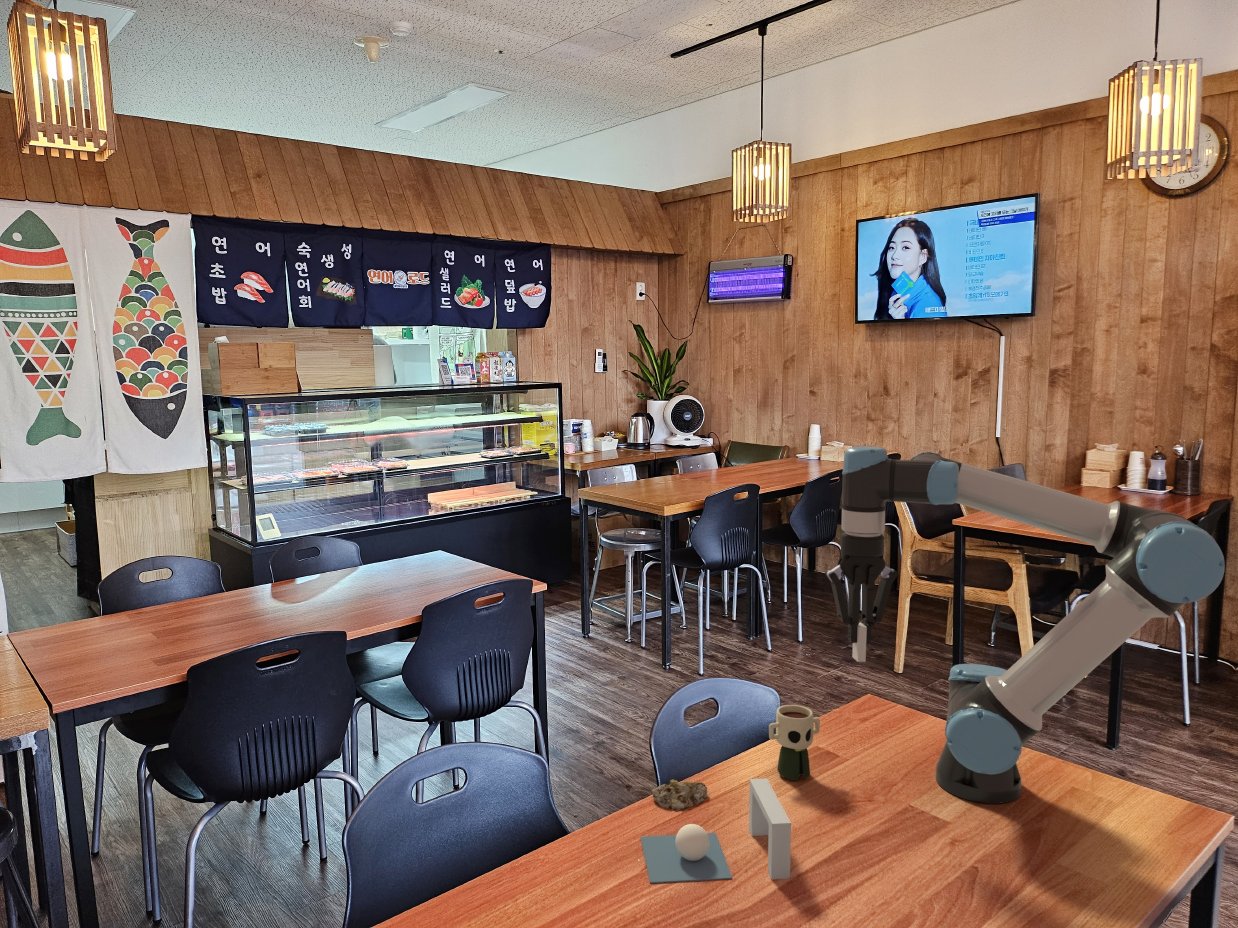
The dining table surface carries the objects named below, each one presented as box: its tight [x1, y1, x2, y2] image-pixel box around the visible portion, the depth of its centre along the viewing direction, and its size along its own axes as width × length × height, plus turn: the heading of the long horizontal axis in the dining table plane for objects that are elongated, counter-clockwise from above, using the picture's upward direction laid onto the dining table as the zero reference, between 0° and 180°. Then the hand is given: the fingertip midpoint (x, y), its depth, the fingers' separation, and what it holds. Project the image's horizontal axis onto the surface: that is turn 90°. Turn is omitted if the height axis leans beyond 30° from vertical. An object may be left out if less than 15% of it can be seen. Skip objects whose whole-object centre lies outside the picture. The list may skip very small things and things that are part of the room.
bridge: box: [748, 778, 792, 880], centre depth 140 cm, size 3×14×9 cm, turn 5°
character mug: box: [768, 704, 821, 781], centre depth 166 cm, size 11×7×13 cm, turn 107°
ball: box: [676, 823, 709, 861], centre depth 139 cm, size 6×6×6 cm
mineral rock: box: [651, 779, 708, 811], centre depth 158 cm, size 11×4×8 cm
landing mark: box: [639, 832, 733, 884], centre depth 139 cm, size 13×13×1 cm
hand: (858, 659), depth 156 cm, fingers closed
